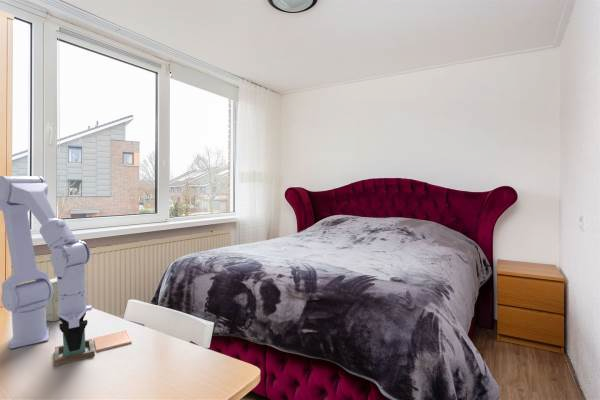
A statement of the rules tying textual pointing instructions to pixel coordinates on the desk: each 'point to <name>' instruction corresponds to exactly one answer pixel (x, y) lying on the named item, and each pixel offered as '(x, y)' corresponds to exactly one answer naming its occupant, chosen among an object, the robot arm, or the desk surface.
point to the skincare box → (53, 303)
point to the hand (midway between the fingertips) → (74, 346)
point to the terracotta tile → (111, 340)
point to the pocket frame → (74, 357)
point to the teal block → (81, 350)
